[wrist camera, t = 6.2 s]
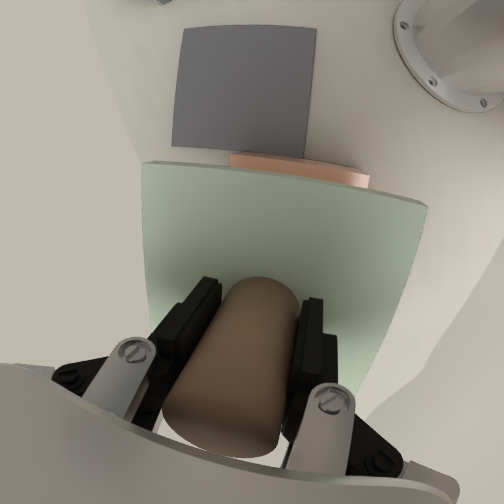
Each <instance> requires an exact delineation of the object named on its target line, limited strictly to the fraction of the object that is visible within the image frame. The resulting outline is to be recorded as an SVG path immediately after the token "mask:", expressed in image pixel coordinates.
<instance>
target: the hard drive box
mask: <svg viewBox="0 0 504 504" xmlns="http://www.w3.org/2000/svg"><path fill="white" fill-rule="evenodd" d="M152 1H154V2H156V3H157V4H159V5H162V4H164V3H166V2H168V1H170V0H152Z"/></svg>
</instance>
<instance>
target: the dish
mask: <svg viewBox="0 0 504 504" xmlns="http://www.w3.org/2000/svg"><path fill="white" fill-rule="evenodd" d="M229 167H237V168H246V169H254V170H262V171H269V172H276V173H283V174H290V175H296V176H303V177H309V178H314V179H320V180H326V181H331V182H337V183H342V184H347V185H352V186H357V187H362V188H366V189H368V184H369V178H370V176H369V175H368V174H366V173H365V172H364V171H362V170H361V169H357V168H352V167H347V166H342V165H336V164H331V163H325V162H320V161H314V160H308V159H299V158H293V157H286V156H278V155H271V154H263V153H254V152H245V151H244V152H238V153H233V154H230V158H229Z"/></svg>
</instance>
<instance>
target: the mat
mask: <svg viewBox="0 0 504 504" xmlns="http://www.w3.org/2000/svg"><path fill="white" fill-rule="evenodd" d="M315 40H316V29H314V28H304V27H293V26H277V25H224V26H209V27H197V28H188V29H184V32H183V39H182V45H181V52H180V60H179V67H178V76H177V85H176V94H175V105H174V116H173V129H172V145H171V146H176V147H196V148H211V149H223V150H235V151H245V152H254V153H263V154H271V155H278V156H286V157H293V158H299V159H303V153H304V146H305V137H306V129H307V121H308V112H309V103H310V93H311V84H312V74H313V63H314V52H315Z"/></svg>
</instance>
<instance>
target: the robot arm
mask: <svg viewBox="0 0 504 504" xmlns="http://www.w3.org/2000/svg"><path fill="white" fill-rule="evenodd" d="M401 27H403V28H404V29H403V28H401ZM393 29H394V35H395V41H396V44H397V47H398V50H399V53H400V54H401V56H402V58H403V60H404V62H405V64H406V66H407V67H408V69H409V70H410V72H411V73H412V75H413V76H414V77H415V78H416V79H417V81H418V82H419V83H420V84H421V85H422V86H423V87H424V88H425V89H426V90H427V91H428V92H429V93H430V94H431V95H433V96H434V97H435V98H437V99H438V100H440V101H441V102H443V103H444V104H446V105H448V106H450V107H452V108H454V109H457V110H460V111H464V112H471V113H478V112H486V111H489V110H492V109H494V108H495V107H497V106H498V105H499V104H500V103H501V102H502V101H503V99H504V0H403V1H402V2H401V4H400V5H399V7H398V9H397V11H396V14H395V17H394V28H393ZM429 81H430V82H431V83H432V85H430V83H429ZM480 103H481V104H480ZM221 301H222V283H218V279H216V278H211V277H206V276H204V277H202V279H201V280H200V281H199V282H198V284H197V285H196V286H195V287H194V289H193V290H192V291H191V292H190V294H189V295H188V296H187V297H186V299H185V300H184V301H183V302H182V303H180V302H178V303H176V304H175V305H174V306H173V308H172V309H171V310H170V311H169V312H168V314H167V315H166V316H165V317H164V319H163V320H162V321H161V322H160V323H159V325H158V326H157V327H156V328H155V330H154V331H153V332H152V333H151V335H150V336H149V337H148V338H147V339H145V338H142V337H130V338H127V339H124V340H122V341H121V342H119V343H118V345H116V347H115V348H114V350H113V351H112V353H111V354H110V356H107V357H103V358H97V359H92V360H87V361H81V362H76V363H70V364H66V365H63V366H61V367H59V368H58V369H57V370H55V368H54V367H45V366H35V365H26V364H7V363H0V504H456V503H457V499H458V497H459V492H460V489H459V484H458V483H457V481H456V480H455V479H454V478H452V477H450V476H447V475H445V474H442V473H440V472H437V471H435V470H432V469H429V468H427V467H425V466H423V465H420V464H418V463H416V462H413V461H411V460H410V461H409V462H405V461H403V458H402V456H401V454H400V453H399V451H398V450H397V449H396V448H394V447H393V446H392V445H391V444H390V443H388V442H387V441H386V440H385V439H384V438H382V437H381V436H380V435H379V434H378V433H377V432H376V431H374V430H373V429H372V428H371V427H370V426H369V425H368V424H366V423H365V422H364V421H363V420H362V419H361V418H360V417H358V416H357V415H356V414H355V405H356V404H355V398H354V396H353V394H352V393H351V392H350V391H349V390H348V389H347V388H345V387H344V386H342V385H339V384H338V341H337V335H333V334H327V333H323V299H319V298H313V297H309V300H303V303H302V308H301V312H300V316H299V321H298V328H297V334H296V341H295V347H294V353H293V359H292V365H291V371H290V377H289V382H288V388H287V393H286V397H287V400H286V405H285V410H284V416H283V421H282V428H281V433H282V435H283V436H284V437H285V438H286V439H287V440H288V442H289V444H288V447H287V450H286V453H285V456H284V458H283V461H282V464H281V467H280V468H276V467H270V466H265V465H260V464H255V463H250V462H246V461H241V460H237V459H233V458H229V457H226V456H222V455H218V454H215V453H211V452H208V451H204V450H201V449H198V448H194V447H191V446H188V445H185V444H183V443H180V442H177V441H174V440H171V439H169V438H166V437H164V436H161V435H158V434H157V432H158V429H159V426H160V424H161V421H162V419H163V414H162V405H163V403H164V401H165V399H166V397H167V396H168V394H169V392H170V391H171V389H172V387H173V385H174V384H175V382H176V380H177V379H178V377H179V375H180V373H181V372H182V370H183V368H184V367H185V365H186V363H187V361H188V360H189V358H190V356H191V355H192V353H193V351H194V350H195V348H196V346H197V344H198V343H199V341H200V339H201V338H202V336H203V334H204V332H205V331H206V329H207V327H208V326H209V324H210V322H211V320H212V319H213V317H214V315H215V314H216V312H217V310H218V308H219V307H220V305H221Z"/></svg>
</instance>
